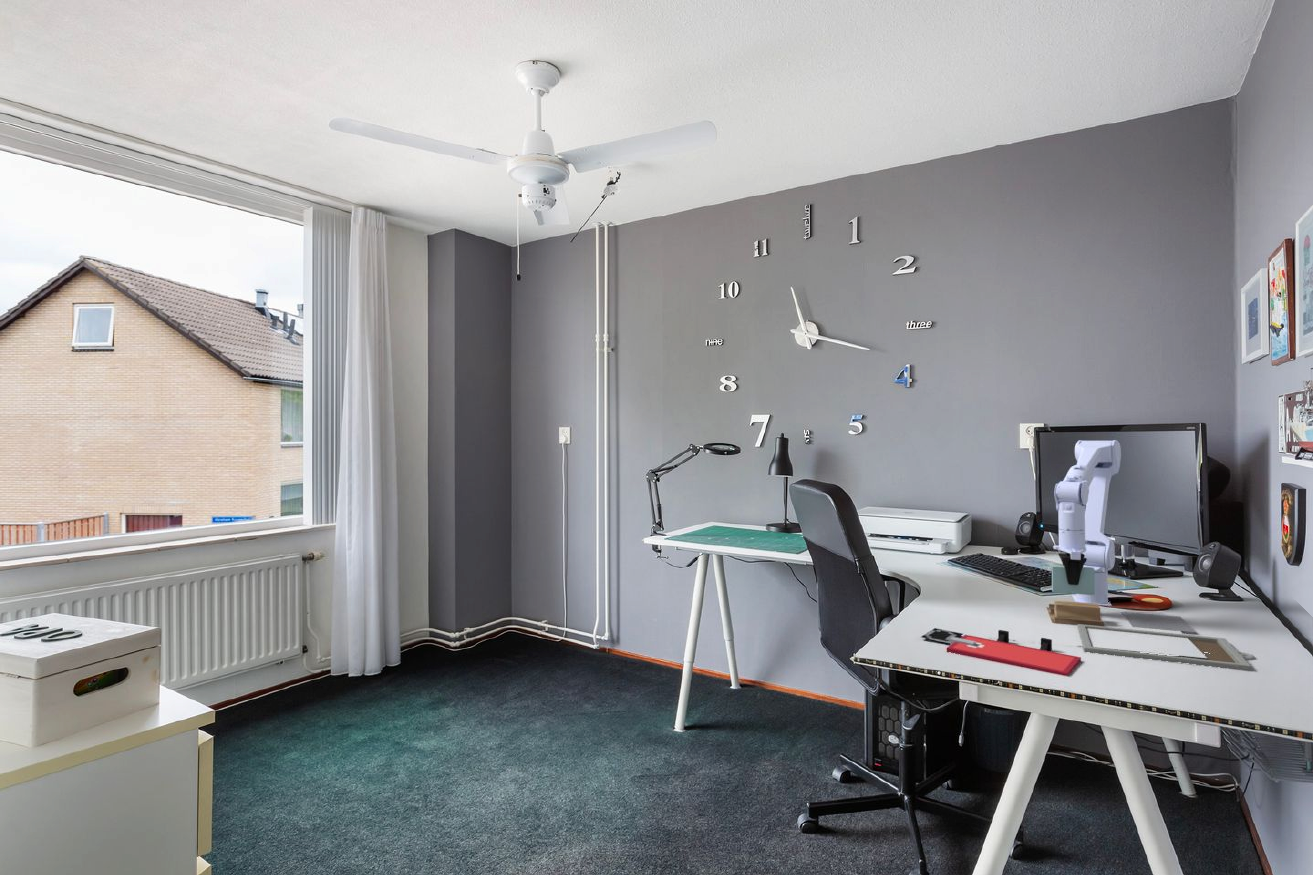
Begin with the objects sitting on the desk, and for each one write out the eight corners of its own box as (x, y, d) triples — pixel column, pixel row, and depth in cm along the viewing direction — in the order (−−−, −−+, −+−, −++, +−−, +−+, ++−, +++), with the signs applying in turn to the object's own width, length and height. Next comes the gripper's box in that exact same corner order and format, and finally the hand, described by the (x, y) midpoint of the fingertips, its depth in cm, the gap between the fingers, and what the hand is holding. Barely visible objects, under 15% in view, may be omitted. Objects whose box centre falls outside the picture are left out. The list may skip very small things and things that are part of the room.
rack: (1046, 609, 178) (1046, 602, 178) (1096, 613, 173) (1096, 606, 173) (1052, 624, 164) (1052, 617, 164) (1107, 629, 159) (1107, 622, 159)
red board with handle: (937, 630, 162) (911, 646, 151) (937, 618, 162) (911, 633, 151) (1085, 659, 142) (1067, 680, 131) (1085, 645, 141) (1067, 666, 130)
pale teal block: (1052, 590, 175) (1051, 565, 175) (1093, 593, 171) (1093, 567, 171) (1052, 592, 173) (1052, 566, 173) (1094, 595, 169) (1094, 568, 169)
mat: (1121, 613, 172) (1121, 611, 172) (1180, 618, 167) (1180, 616, 167) (1132, 628, 160) (1132, 626, 160) (1196, 634, 154) (1196, 632, 154)
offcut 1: (1054, 616, 169) (1054, 600, 169) (1097, 620, 165) (1097, 603, 165) (1055, 618, 167) (1055, 602, 167) (1098, 622, 164) (1098, 605, 164)
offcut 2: (1055, 619, 167) (1055, 602, 167) (1099, 622, 163) (1098, 605, 163) (1056, 621, 165) (1056, 604, 165) (1100, 624, 161) (1100, 608, 161)
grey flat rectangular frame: (1077, 623, 161) (1240, 639, 147) (1077, 630, 161) (1241, 647, 147) (1083, 647, 144) (1269, 668, 130) (1083, 654, 144) (1270, 676, 130)
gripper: (1050, 524, 180) (1051, 576, 181) (1056, 532, 167) (1057, 588, 167) (1081, 525, 177) (1082, 578, 178) (1090, 534, 164) (1091, 590, 164)
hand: (1072, 583), depth 172 cm, fingers closed on pale teal block, 2 cm apart
